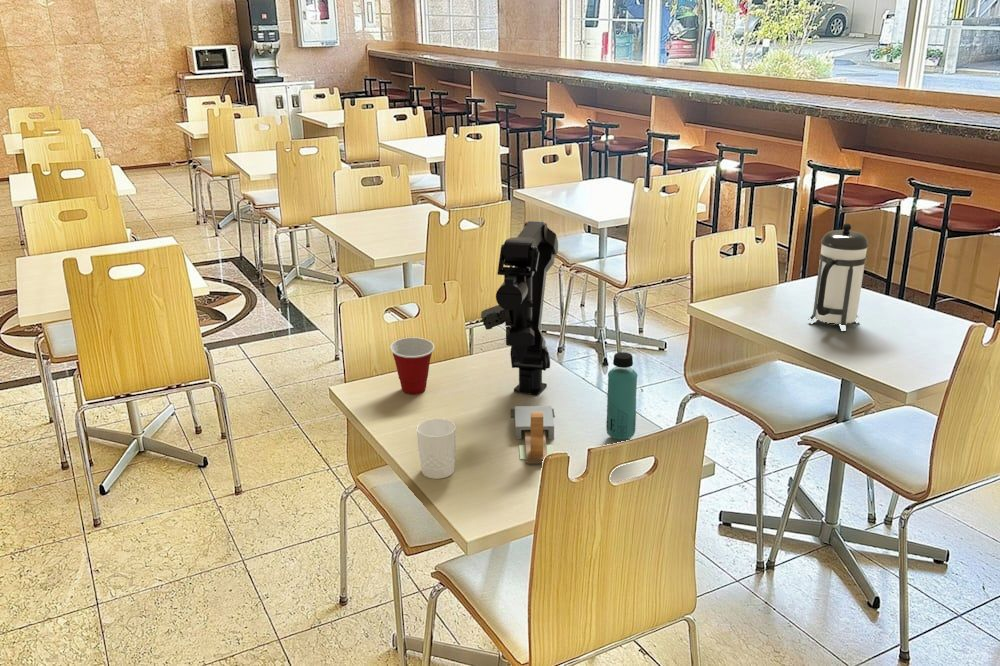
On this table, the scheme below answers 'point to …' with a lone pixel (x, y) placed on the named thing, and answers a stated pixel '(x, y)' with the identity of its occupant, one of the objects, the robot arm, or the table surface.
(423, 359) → the plastic cup
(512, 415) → the pit
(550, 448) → the pad
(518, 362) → the robot arm
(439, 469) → the white cup
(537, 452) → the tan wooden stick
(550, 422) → the tunnel
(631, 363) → the beverage bottle
